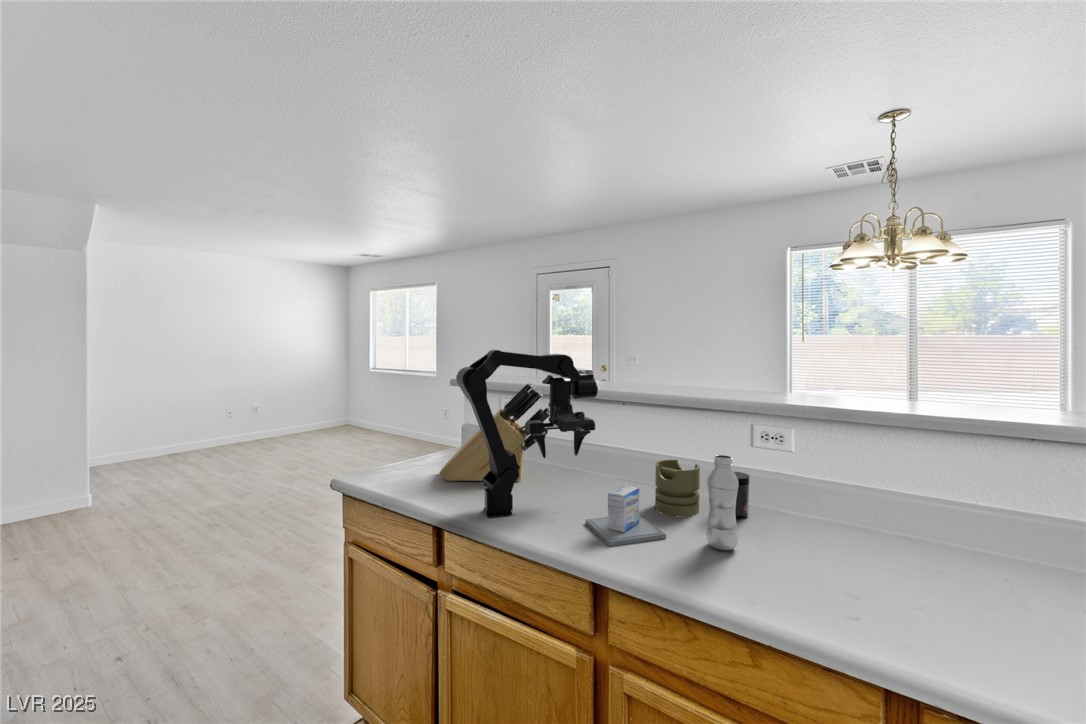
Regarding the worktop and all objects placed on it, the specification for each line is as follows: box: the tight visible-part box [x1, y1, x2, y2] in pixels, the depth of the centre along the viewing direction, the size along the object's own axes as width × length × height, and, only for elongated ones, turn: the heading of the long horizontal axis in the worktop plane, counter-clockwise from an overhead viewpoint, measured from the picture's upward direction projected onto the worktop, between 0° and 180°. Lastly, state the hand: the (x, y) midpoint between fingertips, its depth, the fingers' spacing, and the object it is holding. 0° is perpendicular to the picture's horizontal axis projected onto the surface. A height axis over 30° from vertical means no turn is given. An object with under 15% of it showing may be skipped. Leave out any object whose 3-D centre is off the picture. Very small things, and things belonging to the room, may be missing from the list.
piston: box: [654, 459, 701, 518], centre depth 133 cm, size 11×12×11 cm
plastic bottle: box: [705, 454, 739, 551], centre depth 109 cm, size 6×7×20 cm
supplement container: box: [732, 470, 751, 520], centre depth 129 cm, size 7×7×10 cm
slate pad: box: [585, 514, 667, 547], centre depth 119 cm, size 14×14×1 cm
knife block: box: [439, 382, 550, 482], centre depth 163 cm, size 11×35×31 cm, turn 89°
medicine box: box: [607, 485, 640, 533], centre depth 119 cm, size 8×4×9 cm, turn 143°
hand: (560, 456), depth 138 cm, fingers open, 9 cm apart
